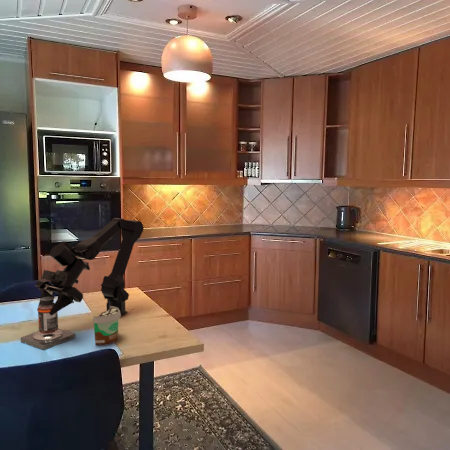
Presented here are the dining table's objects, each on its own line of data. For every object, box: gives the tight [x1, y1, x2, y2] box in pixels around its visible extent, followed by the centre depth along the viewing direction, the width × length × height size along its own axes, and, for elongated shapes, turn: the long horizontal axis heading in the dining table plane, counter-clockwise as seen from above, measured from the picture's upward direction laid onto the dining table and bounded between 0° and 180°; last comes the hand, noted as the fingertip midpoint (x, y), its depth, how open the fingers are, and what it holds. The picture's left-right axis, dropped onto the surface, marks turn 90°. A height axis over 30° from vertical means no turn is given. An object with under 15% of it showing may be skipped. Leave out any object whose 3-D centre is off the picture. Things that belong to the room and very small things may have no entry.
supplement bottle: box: [37, 297, 59, 334], centre depth 136 cm, size 6×6×11 cm
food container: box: [92, 306, 122, 346], centre depth 137 cm, size 12×6×10 cm, turn 168°
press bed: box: [20, 327, 76, 351], centre depth 137 cm, size 12×12×2 cm
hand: (44, 312), depth 135 cm, fingers closed on supplement bottle, 6 cm apart
